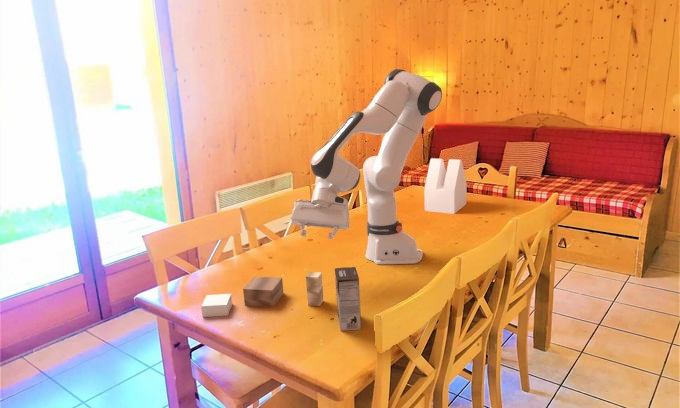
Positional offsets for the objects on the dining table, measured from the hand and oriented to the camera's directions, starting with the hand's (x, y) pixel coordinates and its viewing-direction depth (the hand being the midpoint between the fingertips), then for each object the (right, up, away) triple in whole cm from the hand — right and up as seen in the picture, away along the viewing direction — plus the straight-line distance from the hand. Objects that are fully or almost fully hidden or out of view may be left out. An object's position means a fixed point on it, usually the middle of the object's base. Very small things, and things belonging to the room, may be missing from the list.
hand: (316, 237), depth 176 cm
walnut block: (-17, -21, -2) cm, 27 cm away
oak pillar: (0, -21, -7) cm, 22 cm away
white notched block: (+62, +9, +91) cm, 111 cm away
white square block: (-32, -23, -8) cm, 40 cm away
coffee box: (+11, -24, -20) cm, 34 cm away
